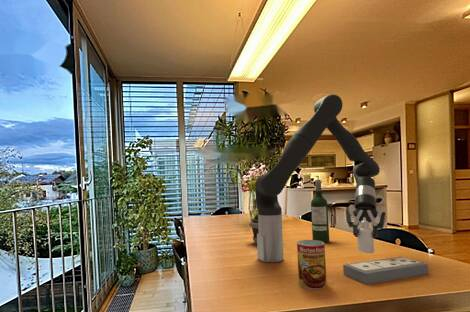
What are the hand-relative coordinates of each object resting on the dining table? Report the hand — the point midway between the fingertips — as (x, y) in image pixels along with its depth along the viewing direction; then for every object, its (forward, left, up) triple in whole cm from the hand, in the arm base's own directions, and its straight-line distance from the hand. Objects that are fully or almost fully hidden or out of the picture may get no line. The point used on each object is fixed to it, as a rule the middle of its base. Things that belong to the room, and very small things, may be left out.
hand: (365, 236), depth 106 cm
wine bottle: (+9, +41, -10) cm, 43 cm away
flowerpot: (-17, +49, -10) cm, 53 cm away
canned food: (-28, -9, -10) cm, 31 cm away
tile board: (-2, -10, -10) cm, 14 cm away
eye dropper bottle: (+1, +1, -6) cm, 6 cm away
